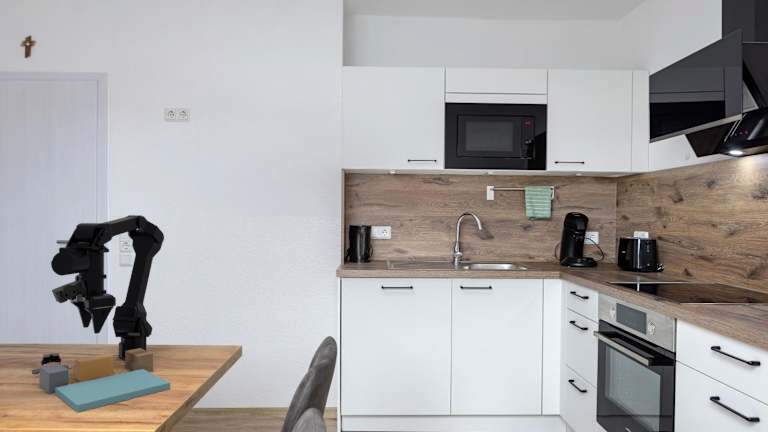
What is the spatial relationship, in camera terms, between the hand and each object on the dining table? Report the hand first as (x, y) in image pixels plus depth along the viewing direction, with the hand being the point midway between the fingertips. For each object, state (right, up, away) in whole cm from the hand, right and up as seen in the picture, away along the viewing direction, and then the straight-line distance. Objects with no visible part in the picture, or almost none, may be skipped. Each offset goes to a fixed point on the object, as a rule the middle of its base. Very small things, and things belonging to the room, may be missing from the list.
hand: (91, 330), depth 130 cm
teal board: (+12, -12, -12) cm, 21 cm away
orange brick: (+1, -12, 0) cm, 12 cm away
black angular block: (-14, -13, +5) cm, 20 cm away
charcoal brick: (-4, -12, -10) cm, 16 cm away
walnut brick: (+10, -12, +5) cm, 17 cm away
